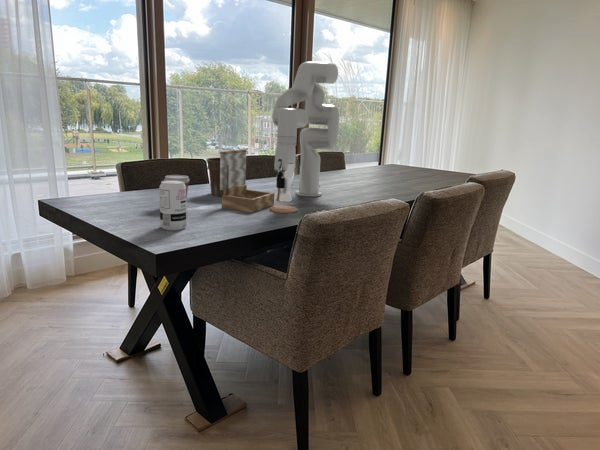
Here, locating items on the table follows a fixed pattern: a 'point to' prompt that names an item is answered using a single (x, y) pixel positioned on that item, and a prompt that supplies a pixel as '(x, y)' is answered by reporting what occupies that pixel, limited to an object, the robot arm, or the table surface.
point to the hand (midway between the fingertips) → (284, 186)
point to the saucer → (283, 209)
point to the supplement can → (172, 205)
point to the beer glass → (286, 185)
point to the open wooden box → (239, 184)
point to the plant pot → (215, 176)
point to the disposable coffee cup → (179, 179)
